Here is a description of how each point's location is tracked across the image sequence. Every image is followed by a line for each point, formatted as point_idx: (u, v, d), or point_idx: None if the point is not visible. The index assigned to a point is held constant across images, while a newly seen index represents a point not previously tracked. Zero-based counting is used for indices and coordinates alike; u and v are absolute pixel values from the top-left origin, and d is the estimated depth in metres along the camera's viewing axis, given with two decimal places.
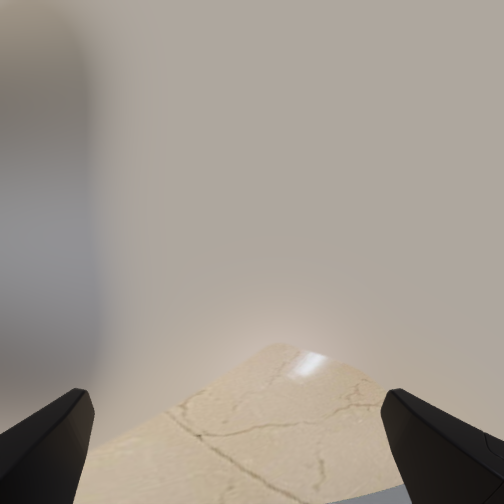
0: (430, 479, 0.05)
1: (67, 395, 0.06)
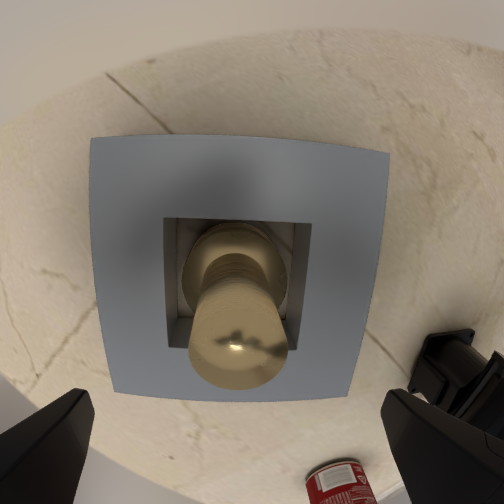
0: (430, 479, 0.05)
1: (67, 395, 0.06)
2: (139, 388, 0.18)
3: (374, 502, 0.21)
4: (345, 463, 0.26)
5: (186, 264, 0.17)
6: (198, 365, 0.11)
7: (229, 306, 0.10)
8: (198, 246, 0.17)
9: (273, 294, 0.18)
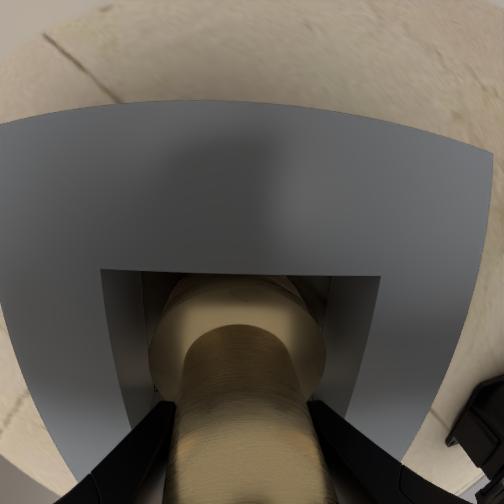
0: None
1: (157, 409, 0.07)
2: None
3: None
4: None
5: (153, 341, 0.09)
6: None
7: None
8: (171, 313, 0.09)
9: (301, 382, 0.10)
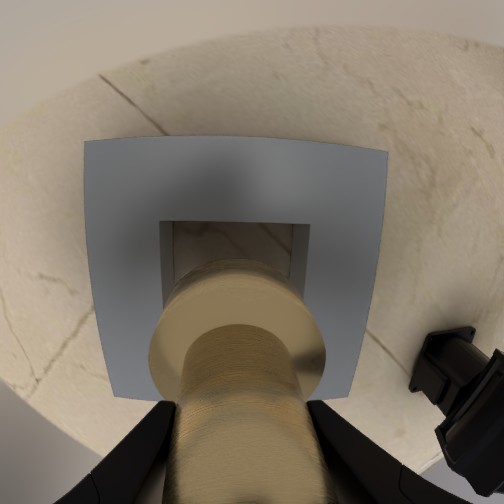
0: None
1: (157, 409, 0.07)
2: (139, 392, 0.18)
3: None
4: None
5: (153, 341, 0.09)
6: None
7: None
8: (171, 313, 0.09)
9: (301, 382, 0.10)
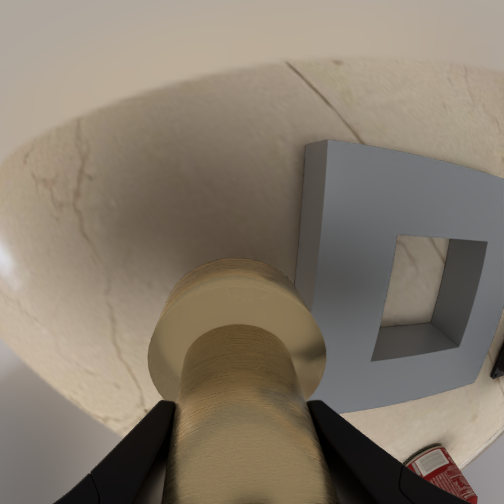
0: None
1: (157, 409, 0.07)
2: None
3: (464, 478, 0.20)
4: (436, 448, 0.25)
5: (153, 341, 0.09)
6: None
7: None
8: (171, 313, 0.09)
9: (302, 382, 0.10)
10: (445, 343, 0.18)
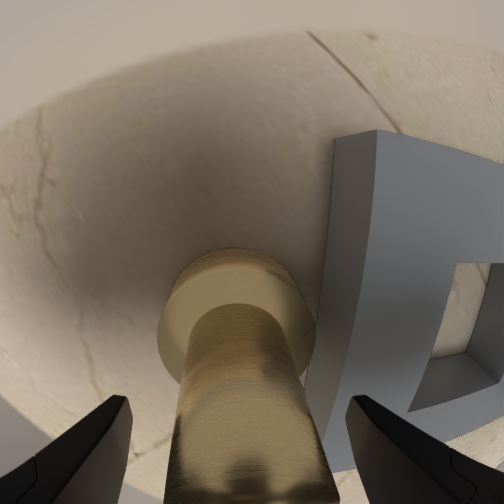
0: (390, 493, 0.05)
1: (108, 403, 0.07)
2: (347, 464, 0.13)
3: None
4: None
5: (162, 319, 0.11)
6: None
7: (235, 469, 0.04)
8: (179, 293, 0.10)
9: (294, 358, 0.11)
10: (484, 379, 0.13)
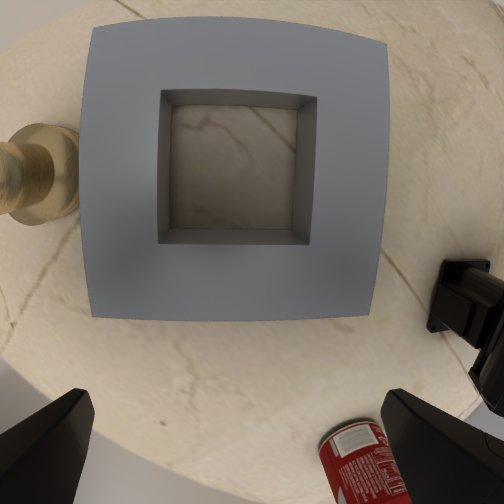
0: (430, 479, 0.05)
1: (67, 395, 0.06)
2: (121, 308, 0.15)
3: None
4: (363, 423, 0.24)
5: None
6: None
7: None
8: None
9: (61, 181, 0.14)
10: (290, 241, 0.16)
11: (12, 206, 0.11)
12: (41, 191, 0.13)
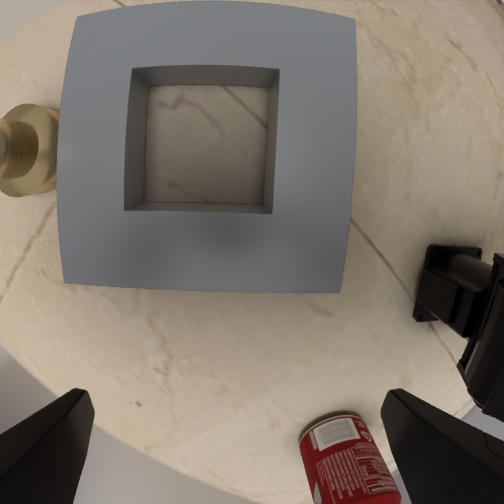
0: (430, 479, 0.05)
1: (67, 395, 0.06)
2: (90, 274, 0.15)
3: (383, 463, 0.19)
4: (345, 417, 0.24)
5: None
6: None
7: None
8: None
9: (43, 155, 0.14)
10: (254, 211, 0.16)
11: None
12: (24, 163, 0.13)
